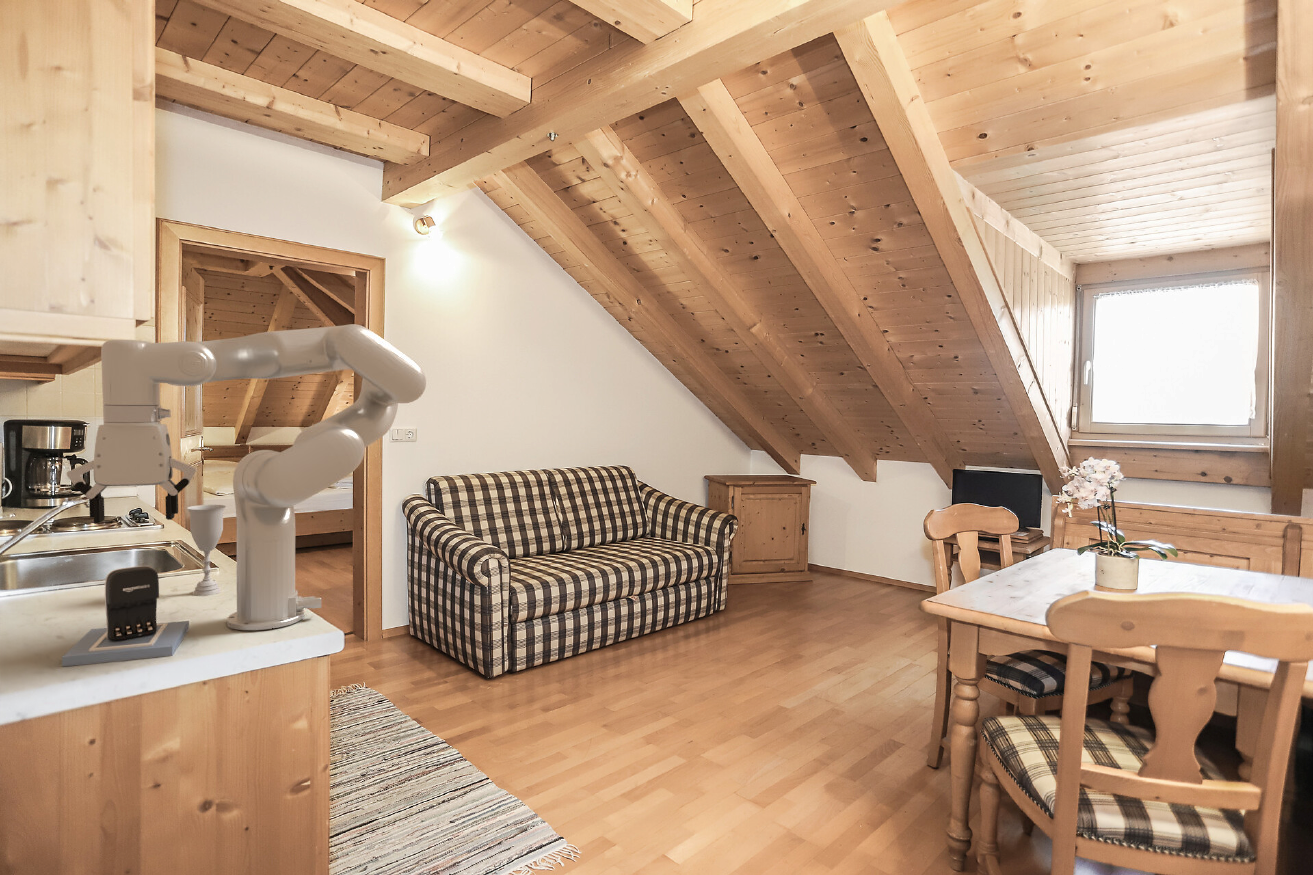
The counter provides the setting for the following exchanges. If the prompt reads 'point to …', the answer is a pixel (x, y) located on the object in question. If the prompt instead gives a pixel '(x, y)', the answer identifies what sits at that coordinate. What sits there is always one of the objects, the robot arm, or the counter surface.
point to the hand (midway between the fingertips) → (135, 520)
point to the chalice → (206, 540)
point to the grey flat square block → (126, 645)
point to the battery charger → (131, 602)
